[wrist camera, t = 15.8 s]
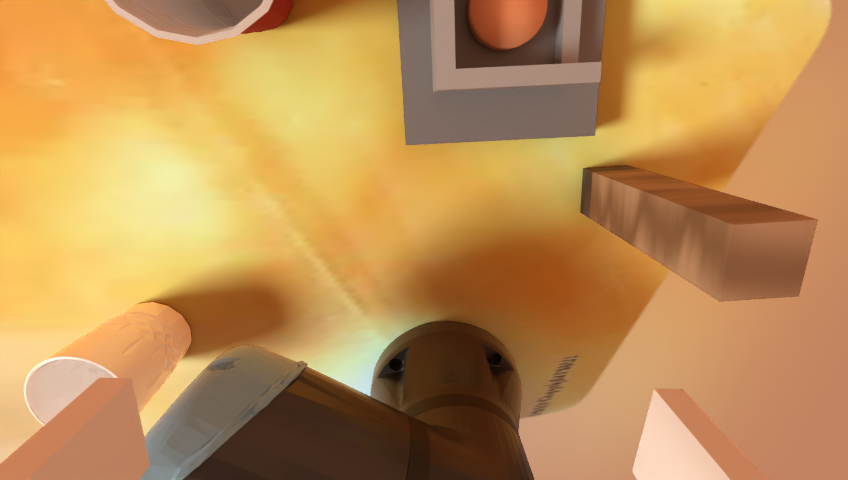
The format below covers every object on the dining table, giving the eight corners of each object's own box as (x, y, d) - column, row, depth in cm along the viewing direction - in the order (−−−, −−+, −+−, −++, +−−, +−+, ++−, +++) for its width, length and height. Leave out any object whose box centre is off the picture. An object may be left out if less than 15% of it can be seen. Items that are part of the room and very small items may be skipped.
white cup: (130, 281, 39) (38, 339, 29) (210, 318, 40) (148, 384, 31) (105, 345, 41) (11, 418, 31) (182, 378, 42) (115, 457, 33)
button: (537, 49, 30) (545, 46, 28) (467, 53, 30) (470, 49, 28) (540, -32, 29) (549, -42, 27) (466, -29, 29) (469, -38, 27)
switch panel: (580, 133, 36) (629, 141, 27) (406, 141, 35) (404, 152, 27) (598, -123, 30) (666, -207, 22) (391, -114, 30) (383, -195, 22)
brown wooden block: (623, 209, 38) (798, 296, 21) (580, 212, 38) (719, 301, 21) (628, 165, 37) (817, 219, 19) (583, 168, 36) (733, 224, 19)
